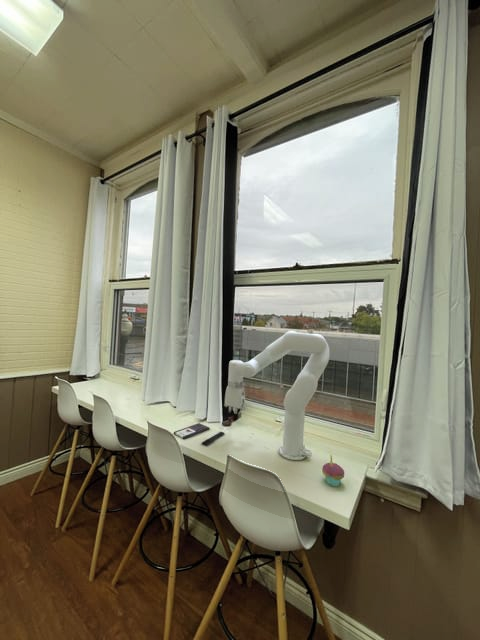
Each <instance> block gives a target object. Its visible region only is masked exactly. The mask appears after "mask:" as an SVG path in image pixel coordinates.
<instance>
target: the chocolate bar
mask: <svg viewBox="0 0 480 640" xmlns="http://www.w3.org/2000/svg"><path fill="white" fill-rule="evenodd" d="M209 430H210V427H209V426H207V425H205V424H202V423H200V422H198V423H195V424H191V425H189V426H187V427H184V428H181V429H177V430H176V431H173V434H174V435H175V436H178V437H180V439H181V438H182V439H183V440H185V439H189V438H191V437H194V436H196V435H198V434H199V435H200V434H201V433H203V432H206V431H209Z"/></svg>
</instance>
